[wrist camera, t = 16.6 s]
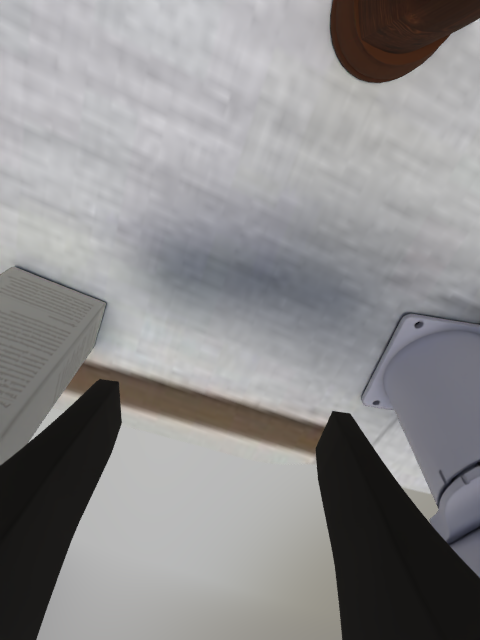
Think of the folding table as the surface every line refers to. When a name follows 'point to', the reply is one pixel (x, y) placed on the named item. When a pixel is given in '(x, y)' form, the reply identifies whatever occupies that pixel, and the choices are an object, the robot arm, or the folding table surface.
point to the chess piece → (394, 33)
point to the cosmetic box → (39, 350)
